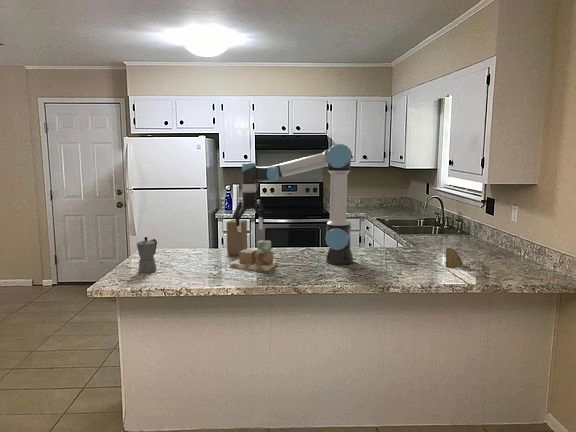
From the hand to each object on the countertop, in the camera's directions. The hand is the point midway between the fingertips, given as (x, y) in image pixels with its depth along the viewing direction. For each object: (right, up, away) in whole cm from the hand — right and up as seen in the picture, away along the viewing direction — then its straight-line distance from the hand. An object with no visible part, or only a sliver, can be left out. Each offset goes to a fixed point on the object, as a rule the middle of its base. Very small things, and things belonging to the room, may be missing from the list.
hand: (250, 230), depth 242 cm
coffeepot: (-52, -21, -11) cm, 57 cm away
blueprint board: (+2, -19, -3) cm, 19 cm away
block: (-10, -15, +27) cm, 32 cm away
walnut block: (-1, -17, -2) cm, 17 cm away
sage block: (+2, -17, +13) cm, 21 cm away
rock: (+110, -19, -4) cm, 111 cm away
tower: (+8, -17, -5) cm, 20 cm away
